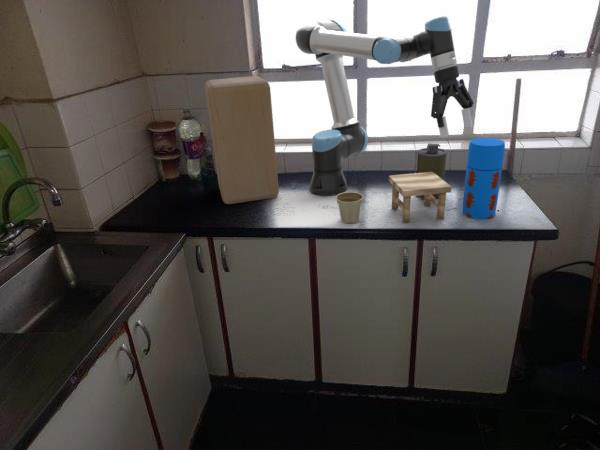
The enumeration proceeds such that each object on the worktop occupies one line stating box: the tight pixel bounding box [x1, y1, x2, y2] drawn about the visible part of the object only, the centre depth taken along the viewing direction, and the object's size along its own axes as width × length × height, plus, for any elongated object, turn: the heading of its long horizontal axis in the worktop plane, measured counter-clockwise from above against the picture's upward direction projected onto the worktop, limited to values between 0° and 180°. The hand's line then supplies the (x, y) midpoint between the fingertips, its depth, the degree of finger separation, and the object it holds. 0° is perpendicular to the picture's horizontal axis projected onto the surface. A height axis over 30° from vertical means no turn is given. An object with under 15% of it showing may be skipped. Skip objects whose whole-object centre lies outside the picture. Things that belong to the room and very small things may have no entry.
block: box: [204, 75, 280, 205], centre depth 173 cm, size 22×22×45 cm
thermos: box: [461, 137, 506, 221], centre depth 146 cm, size 11×11×25 cm
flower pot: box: [335, 191, 364, 224], centre depth 150 cm, size 9×9×9 cm
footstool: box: [388, 172, 452, 224], centre depth 151 cm, size 16×16×12 cm
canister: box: [414, 142, 448, 201], centre depth 164 cm, size 11×10×20 cm
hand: (457, 132), depth 148 cm, fingers open, 13 cm apart
